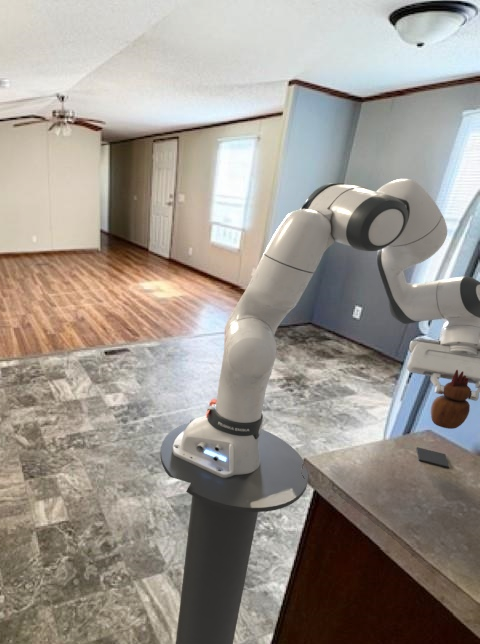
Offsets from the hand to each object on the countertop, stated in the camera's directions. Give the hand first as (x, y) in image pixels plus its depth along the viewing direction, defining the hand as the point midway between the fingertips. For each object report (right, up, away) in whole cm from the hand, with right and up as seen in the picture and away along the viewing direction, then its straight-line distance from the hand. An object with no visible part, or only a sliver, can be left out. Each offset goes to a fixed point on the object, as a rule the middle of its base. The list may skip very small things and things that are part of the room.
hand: (456, 396), depth 99 cm
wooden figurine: (0, -8, +4) cm, 9 cm away
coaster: (+1, -17, +8) cm, 18 cm away
